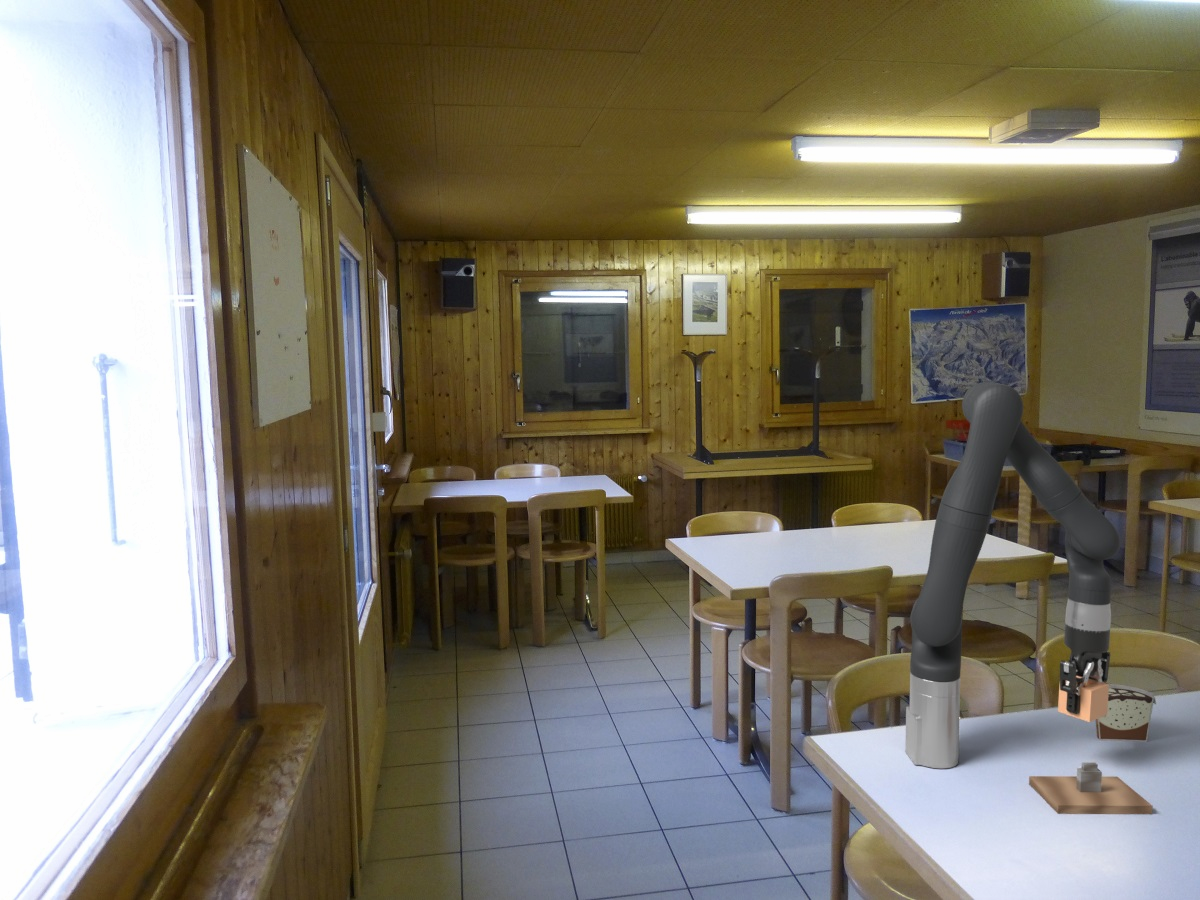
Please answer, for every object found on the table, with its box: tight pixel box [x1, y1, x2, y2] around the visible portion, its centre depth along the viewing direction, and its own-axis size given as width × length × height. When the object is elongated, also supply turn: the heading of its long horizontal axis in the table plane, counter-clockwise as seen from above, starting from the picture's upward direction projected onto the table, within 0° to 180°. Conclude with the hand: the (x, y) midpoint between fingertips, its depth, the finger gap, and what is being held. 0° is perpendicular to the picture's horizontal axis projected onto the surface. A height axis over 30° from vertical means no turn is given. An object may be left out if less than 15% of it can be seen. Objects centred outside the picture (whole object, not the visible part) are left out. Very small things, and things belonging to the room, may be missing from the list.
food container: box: [1095, 683, 1157, 743], centre depth 183 cm, size 12×6×10 cm, turn 84°
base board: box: [1028, 762, 1154, 815], centre depth 156 cm, size 16×11×6 cm
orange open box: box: [1057, 676, 1109, 723], centre depth 167 cm, size 6×6×6 cm
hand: (1082, 708), depth 168 cm, fingers closed on orange open box, 6 cm apart
